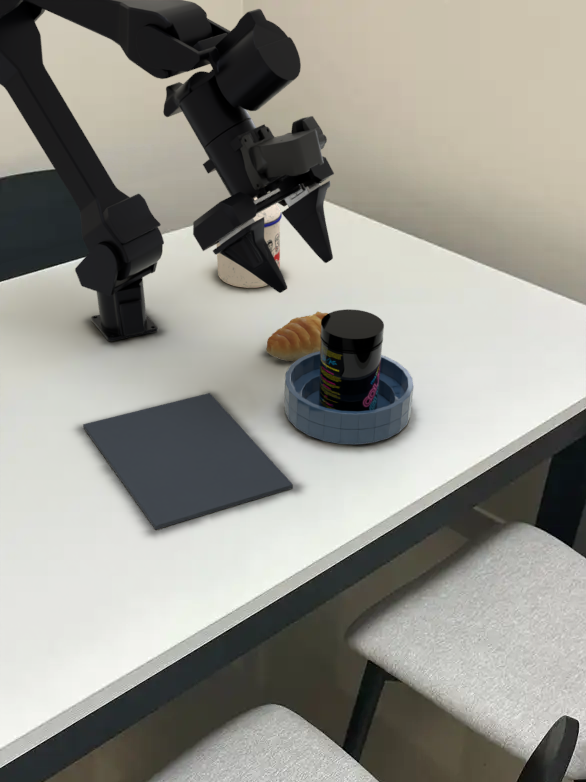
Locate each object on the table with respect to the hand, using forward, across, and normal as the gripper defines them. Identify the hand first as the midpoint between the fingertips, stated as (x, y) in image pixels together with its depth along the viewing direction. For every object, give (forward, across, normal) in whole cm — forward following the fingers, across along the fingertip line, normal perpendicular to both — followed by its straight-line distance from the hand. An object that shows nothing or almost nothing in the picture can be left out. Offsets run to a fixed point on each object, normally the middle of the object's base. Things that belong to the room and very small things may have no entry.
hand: (307, 275), depth 103 cm
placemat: (+9, -19, +11) cm, 24 cm away
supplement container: (+15, -1, +3) cm, 15 cm away
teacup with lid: (-4, +23, +27) cm, 36 cm away
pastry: (+8, +8, +13) cm, 17 cm away
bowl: (+15, -1, +4) cm, 15 cm away
